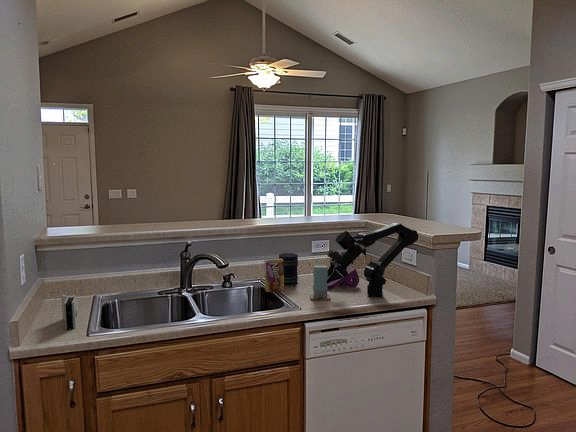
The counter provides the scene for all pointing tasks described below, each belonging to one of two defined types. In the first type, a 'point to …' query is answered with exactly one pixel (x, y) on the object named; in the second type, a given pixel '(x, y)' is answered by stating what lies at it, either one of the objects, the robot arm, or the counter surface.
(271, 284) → the candy box
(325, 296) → the brown base with posts
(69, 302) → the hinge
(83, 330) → the counter surface
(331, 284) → the mounting bracket
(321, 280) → the door
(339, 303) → the counter surface
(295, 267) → the storage jar
